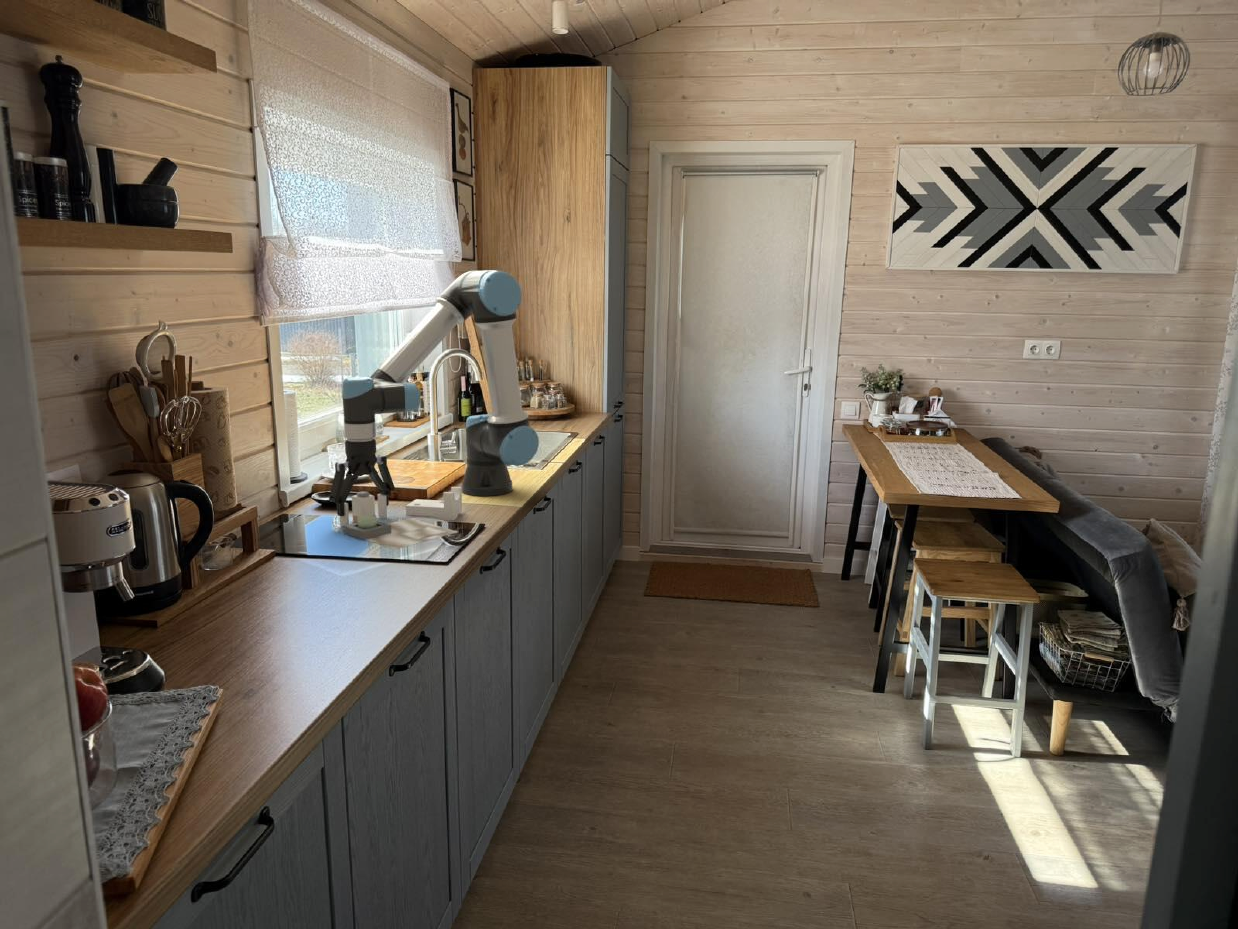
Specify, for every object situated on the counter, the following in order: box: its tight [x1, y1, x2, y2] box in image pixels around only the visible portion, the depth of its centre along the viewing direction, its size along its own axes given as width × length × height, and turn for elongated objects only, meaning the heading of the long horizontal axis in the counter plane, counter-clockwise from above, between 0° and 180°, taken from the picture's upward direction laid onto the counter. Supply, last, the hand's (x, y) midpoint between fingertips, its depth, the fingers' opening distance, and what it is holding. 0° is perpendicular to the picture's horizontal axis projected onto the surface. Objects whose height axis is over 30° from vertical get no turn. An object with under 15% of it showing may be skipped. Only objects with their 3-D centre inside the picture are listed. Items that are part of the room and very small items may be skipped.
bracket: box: [405, 486, 463, 521], centre depth 230 cm, size 13×7×8 cm, turn 82°
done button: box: [358, 515, 378, 529], centre depth 210 cm, size 4×4×2 cm
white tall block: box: [351, 491, 376, 523], centre depth 221 cm, size 4×4×8 cm
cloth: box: [365, 517, 458, 550], centre depth 212 cm, size 21×21×1 cm
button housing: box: [343, 520, 391, 541], centre depth 211 cm, size 8×8×2 cm
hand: (364, 523), depth 222 cm, fingers open, 11 cm apart
